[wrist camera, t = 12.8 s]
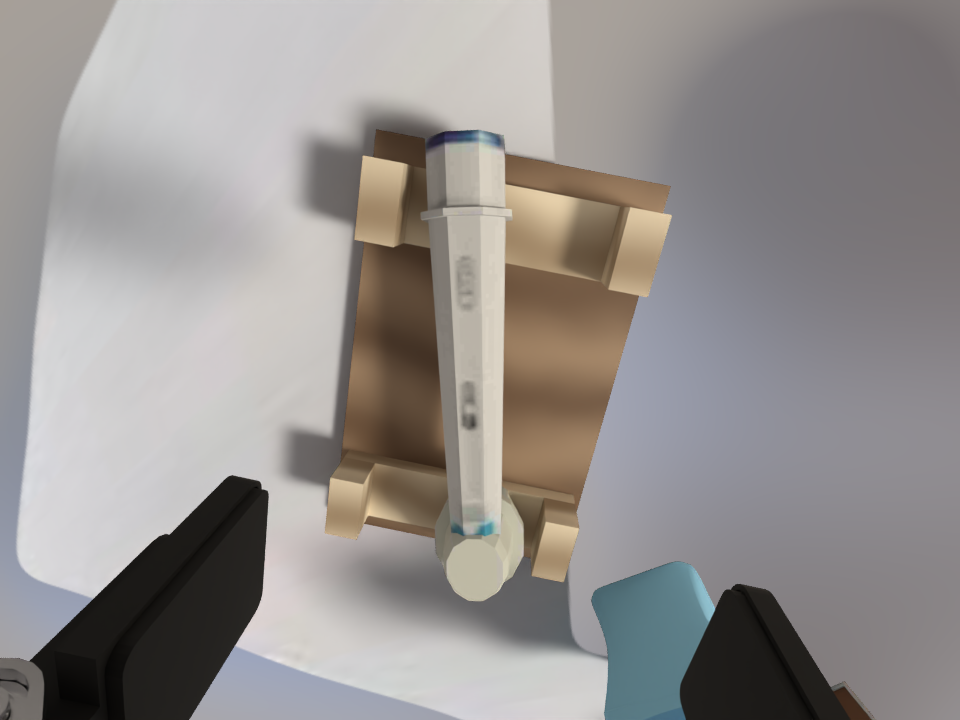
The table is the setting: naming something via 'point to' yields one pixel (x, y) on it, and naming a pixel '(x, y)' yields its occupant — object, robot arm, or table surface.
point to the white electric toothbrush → (471, 357)
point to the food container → (851, 703)
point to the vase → (651, 639)
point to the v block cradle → (527, 343)
